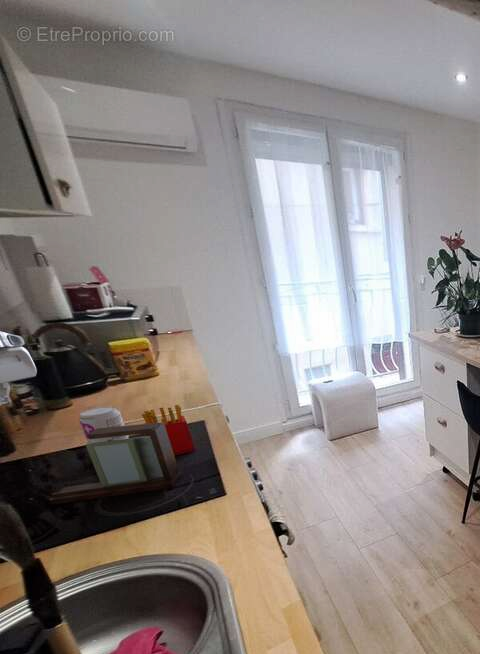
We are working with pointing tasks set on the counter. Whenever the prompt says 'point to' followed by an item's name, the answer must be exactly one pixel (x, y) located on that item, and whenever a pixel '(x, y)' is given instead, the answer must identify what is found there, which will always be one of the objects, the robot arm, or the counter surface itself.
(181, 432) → the french fries container
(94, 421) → the supplement can
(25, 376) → the robot arm
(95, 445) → the sliding pane
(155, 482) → the window frame
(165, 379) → the counter surface
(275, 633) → the counter surface
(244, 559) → the counter surface
